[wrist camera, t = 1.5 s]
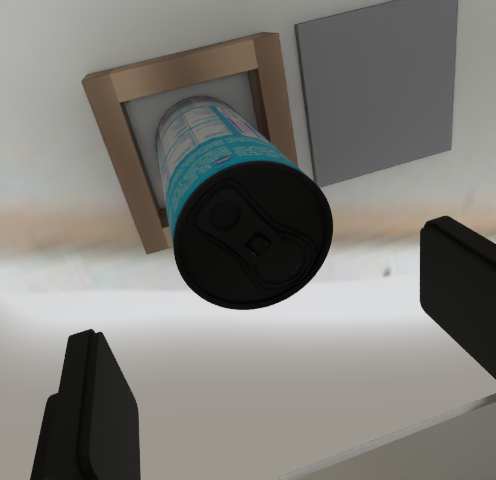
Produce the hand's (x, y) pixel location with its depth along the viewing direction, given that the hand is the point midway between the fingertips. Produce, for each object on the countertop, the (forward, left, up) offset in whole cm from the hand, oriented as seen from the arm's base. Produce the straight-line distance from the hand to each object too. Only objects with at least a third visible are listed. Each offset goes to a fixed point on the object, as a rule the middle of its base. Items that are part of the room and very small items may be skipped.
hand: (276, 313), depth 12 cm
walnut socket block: (0, 0, -19) cm, 19 cm away
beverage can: (0, 0, -19) cm, 19 cm away
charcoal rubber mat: (-13, 0, -19) cm, 23 cm away
